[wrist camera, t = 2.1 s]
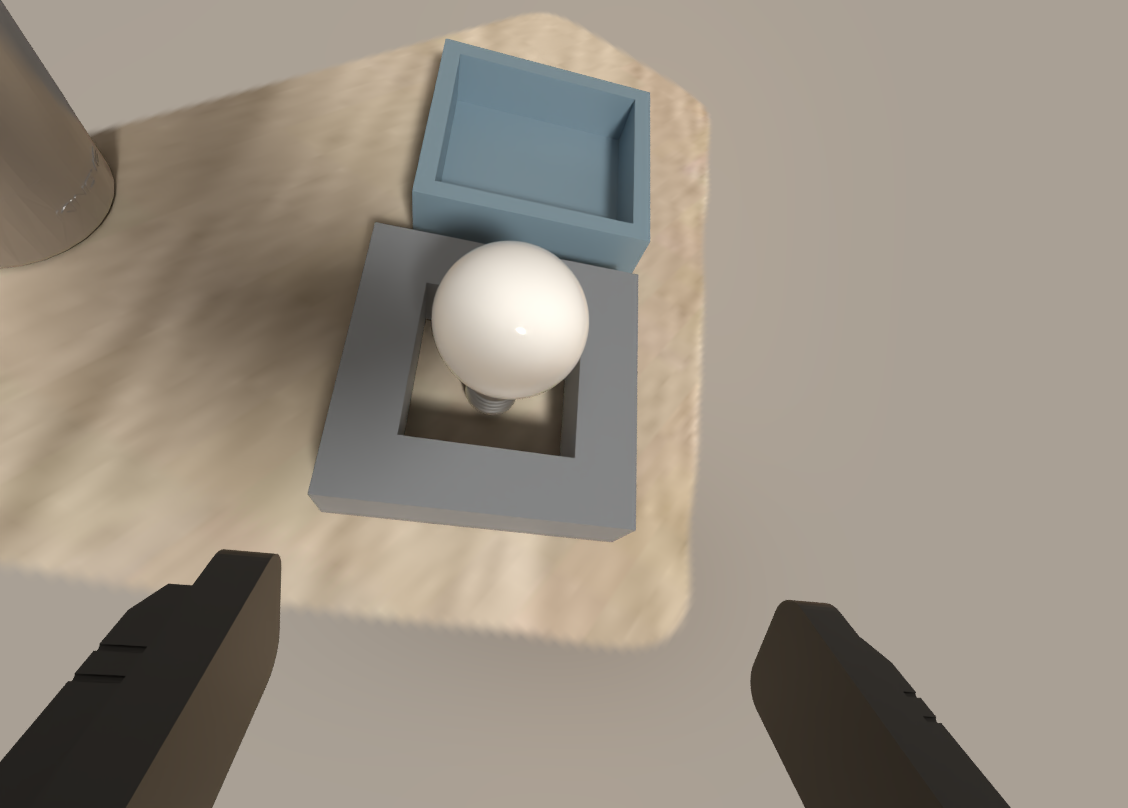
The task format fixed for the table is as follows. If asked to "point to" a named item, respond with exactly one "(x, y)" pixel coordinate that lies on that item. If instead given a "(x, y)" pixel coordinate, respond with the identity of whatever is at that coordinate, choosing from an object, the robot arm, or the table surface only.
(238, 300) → the table surface
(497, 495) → the socket block
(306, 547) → the table surface
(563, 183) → the parts tray
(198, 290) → the table surface
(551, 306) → the lightbulb
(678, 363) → the table surface
